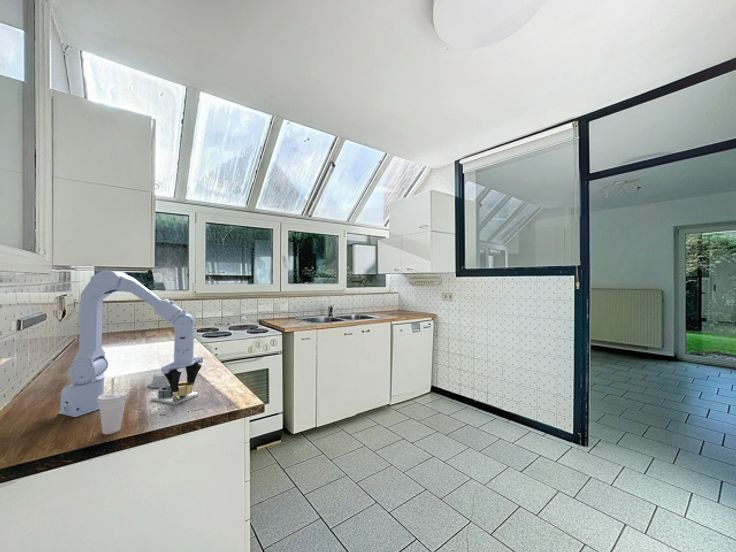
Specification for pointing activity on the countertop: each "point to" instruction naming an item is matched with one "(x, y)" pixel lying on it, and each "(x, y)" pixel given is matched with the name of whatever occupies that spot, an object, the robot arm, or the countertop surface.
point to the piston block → (171, 396)
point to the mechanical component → (158, 380)
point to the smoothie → (112, 409)
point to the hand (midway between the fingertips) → (182, 388)
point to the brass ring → (184, 389)
